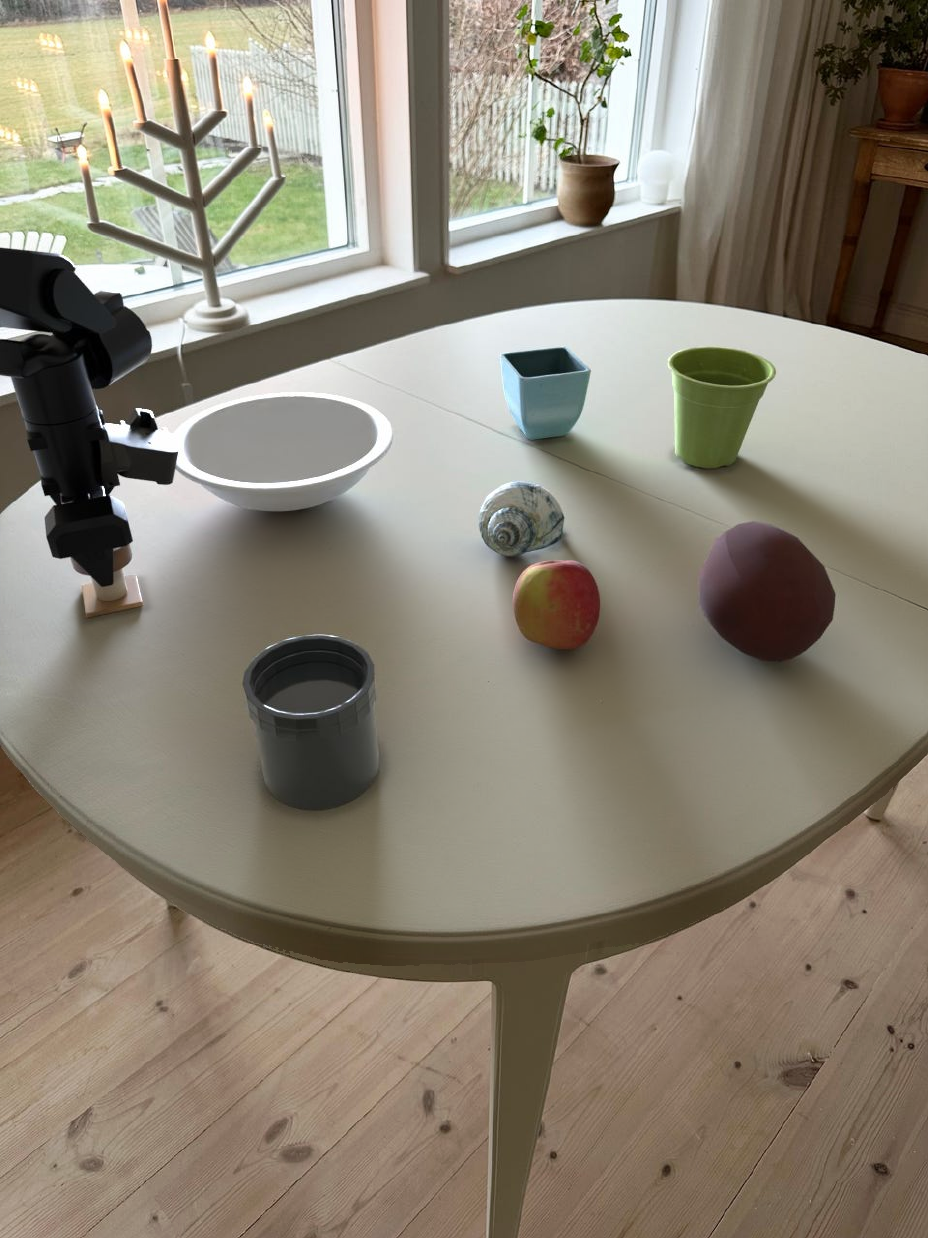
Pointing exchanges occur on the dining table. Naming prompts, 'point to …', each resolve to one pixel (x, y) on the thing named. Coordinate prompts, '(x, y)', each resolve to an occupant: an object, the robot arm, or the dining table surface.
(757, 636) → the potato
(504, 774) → the dining table surface
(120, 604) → the plate
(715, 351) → the plant pot
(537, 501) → the seashell
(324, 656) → the container
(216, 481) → the soup bowl
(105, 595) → the mushroom
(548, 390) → the flower pot
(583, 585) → the apple
